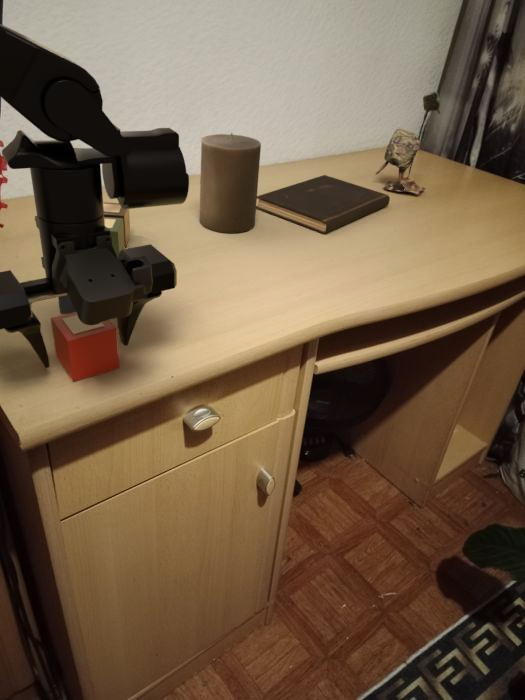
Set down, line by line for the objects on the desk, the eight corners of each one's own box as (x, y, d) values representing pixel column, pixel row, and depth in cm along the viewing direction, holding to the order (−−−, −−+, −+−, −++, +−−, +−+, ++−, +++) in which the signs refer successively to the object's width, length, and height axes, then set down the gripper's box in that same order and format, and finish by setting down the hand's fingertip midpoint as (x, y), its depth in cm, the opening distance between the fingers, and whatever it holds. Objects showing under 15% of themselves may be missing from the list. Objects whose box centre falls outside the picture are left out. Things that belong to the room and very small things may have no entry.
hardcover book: (254, 208, 101) (256, 196, 100) (322, 185, 117) (324, 174, 116) (325, 235, 94) (327, 222, 92) (388, 206, 109) (390, 195, 108)
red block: (73, 382, 55) (67, 340, 52) (56, 357, 58) (50, 316, 55) (119, 368, 58) (116, 327, 55) (100, 344, 61) (97, 305, 58)
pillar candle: (254, 235, 91) (263, 142, 82) (196, 231, 90) (198, 137, 82) (254, 214, 99) (262, 128, 90) (200, 210, 98) (203, 122, 90)
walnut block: (92, 245, 82) (89, 212, 79) (98, 232, 86) (95, 200, 83) (125, 247, 82) (124, 214, 79) (130, 234, 86) (128, 203, 84)
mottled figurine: (384, 178, 125) (405, 84, 114) (429, 192, 120) (456, 94, 109) (367, 185, 120) (387, 86, 109) (413, 199, 114) (440, 97, 103)
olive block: (84, 262, 77) (80, 228, 74) (90, 247, 81) (87, 215, 78) (119, 264, 77) (117, 230, 75) (124, 249, 82) (123, 217, 79)
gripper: (-19, 269, 38) (17, 431, 47) (207, 229, 48) (201, 369, 57) (-53, 215, 46) (-16, 364, 54) (150, 189, 55) (153, 319, 64)
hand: (86, 354), depth 57 cm, fingers open, 8 cm apart
